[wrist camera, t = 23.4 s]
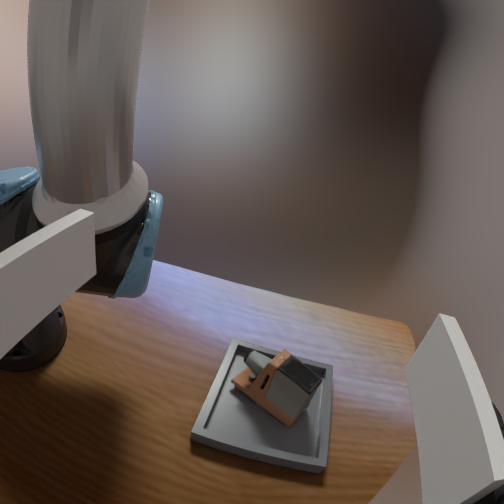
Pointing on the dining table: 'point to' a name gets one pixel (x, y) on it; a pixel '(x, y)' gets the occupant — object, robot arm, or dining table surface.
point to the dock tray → (264, 418)
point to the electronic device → (278, 384)
